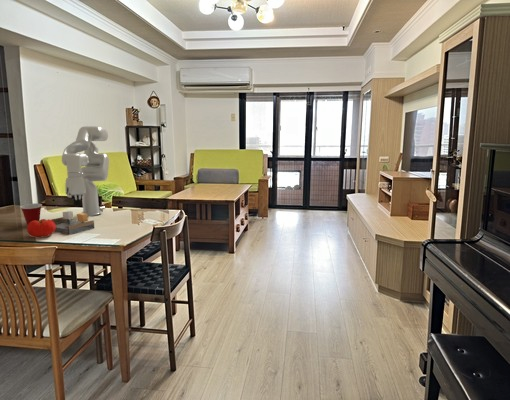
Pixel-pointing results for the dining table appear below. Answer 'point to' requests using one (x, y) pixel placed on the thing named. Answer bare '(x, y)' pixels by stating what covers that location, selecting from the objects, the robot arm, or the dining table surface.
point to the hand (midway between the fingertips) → (77, 206)
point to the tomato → (41, 228)
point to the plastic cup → (31, 212)
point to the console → (71, 225)
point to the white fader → (68, 215)
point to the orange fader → (82, 217)
